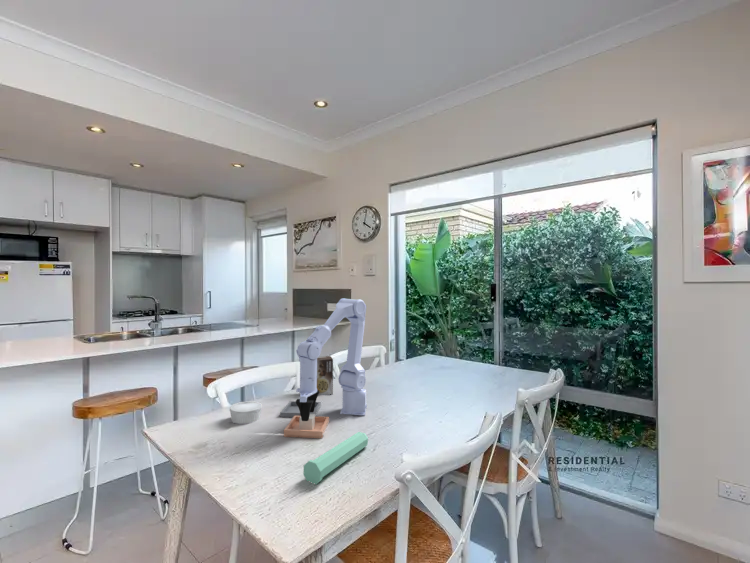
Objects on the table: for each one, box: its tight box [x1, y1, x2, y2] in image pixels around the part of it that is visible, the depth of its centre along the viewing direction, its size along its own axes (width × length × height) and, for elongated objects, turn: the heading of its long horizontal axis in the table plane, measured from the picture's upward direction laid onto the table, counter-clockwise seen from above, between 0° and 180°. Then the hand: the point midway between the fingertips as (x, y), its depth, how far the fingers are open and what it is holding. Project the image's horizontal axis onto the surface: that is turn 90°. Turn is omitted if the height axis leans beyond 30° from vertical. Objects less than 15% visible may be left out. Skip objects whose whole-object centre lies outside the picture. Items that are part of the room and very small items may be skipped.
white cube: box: [299, 414, 315, 430], centre depth 124 cm, size 4×4×4 cm
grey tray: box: [279, 400, 322, 418], centre depth 139 cm, size 13×13×2 cm
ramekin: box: [229, 400, 263, 425], centre depth 131 cm, size 11×11×5 cm
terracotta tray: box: [283, 415, 330, 439], centre depth 124 cm, size 13×13×2 cm
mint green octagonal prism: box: [302, 431, 369, 485], centre depth 103 cm, size 6×6×25 cm
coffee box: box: [317, 355, 334, 396], centre depth 163 cm, size 9×6×16 cm
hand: (307, 416), depth 124 cm, fingers open, 7 cm apart
